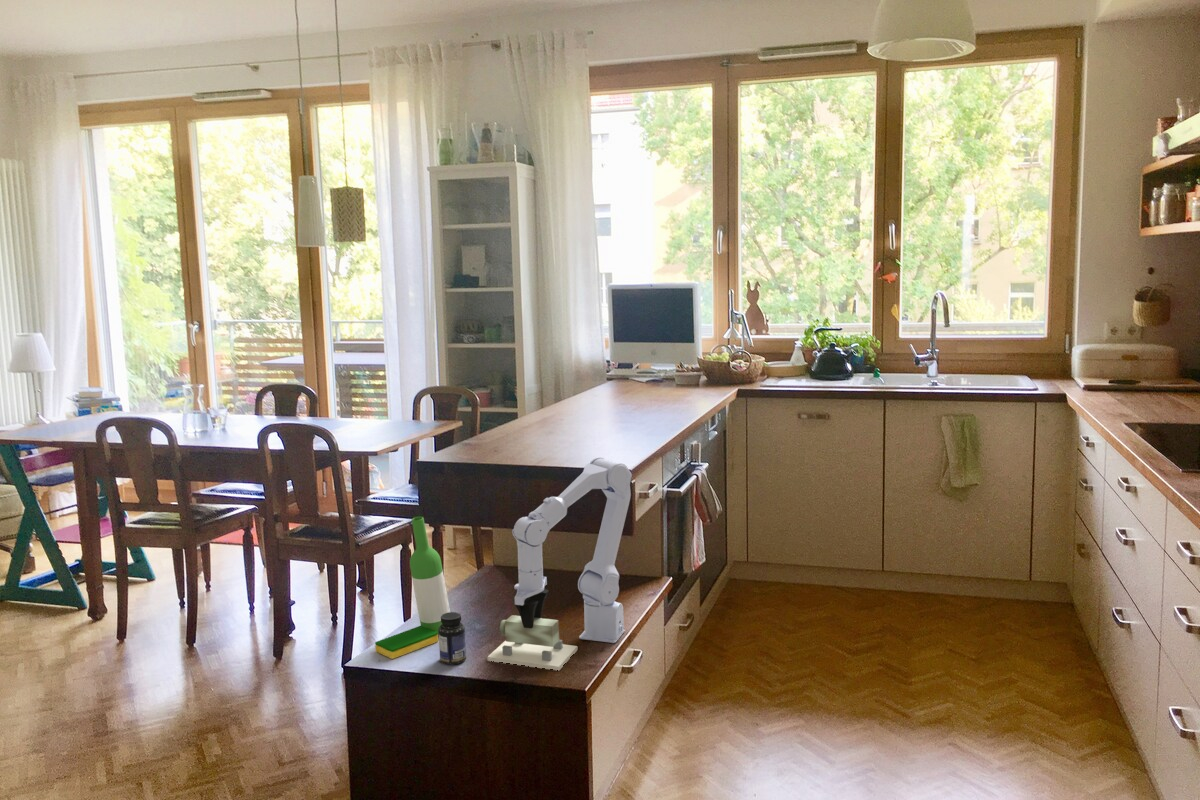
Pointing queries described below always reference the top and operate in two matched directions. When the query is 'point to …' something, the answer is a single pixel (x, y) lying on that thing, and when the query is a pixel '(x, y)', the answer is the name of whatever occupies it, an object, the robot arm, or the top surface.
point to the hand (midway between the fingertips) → (532, 623)
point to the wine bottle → (427, 579)
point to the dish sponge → (406, 642)
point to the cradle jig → (533, 654)
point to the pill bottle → (452, 639)
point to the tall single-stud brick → (531, 631)
